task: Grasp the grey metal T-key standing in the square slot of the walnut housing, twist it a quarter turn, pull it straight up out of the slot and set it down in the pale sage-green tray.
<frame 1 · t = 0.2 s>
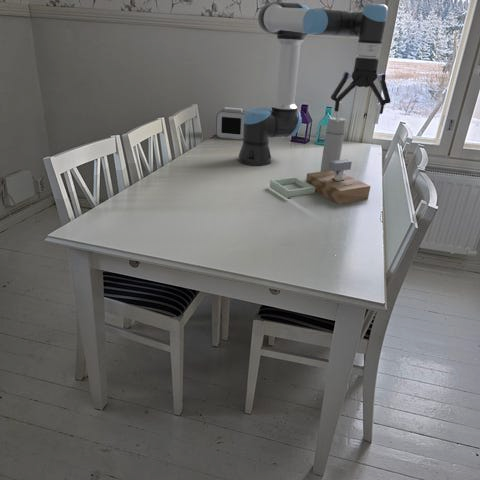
hand: (356, 122, 149), 27 cm above the table, fingers open, 13 cm apart
t key: (335, 192, 159), point 1 cm above the table, touching housing
housing: (335, 194, 160), on the table
tray: (291, 191, 161), on the table
grey monitor with handle: (232, 137, 234), on the table
water bottle: (327, 179, 176), on the table
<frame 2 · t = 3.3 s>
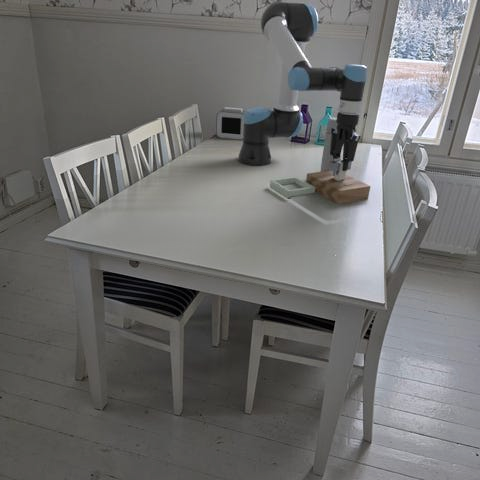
hand: (338, 176, 157), 7 cm above the table, fingers closed on t key, 3 cm apart
t key: (335, 192, 159), point 1 cm above the table, touching gripper, housing
everything else where it was.
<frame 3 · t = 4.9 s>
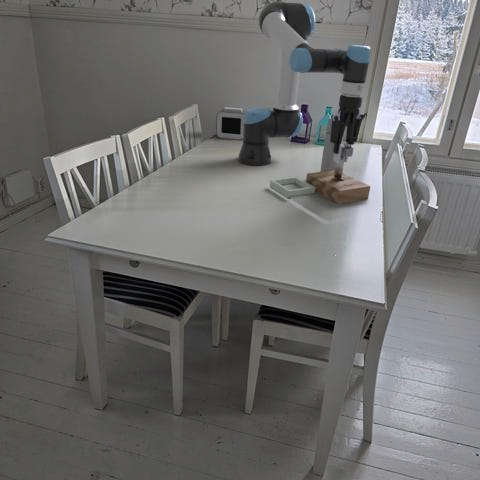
hand: (340, 161, 154), 13 cm above the table, fingers closed on t key, 3 cm apart
t key: (337, 177, 157), point 7 cm above the table, touching gripper
everything else where it was.
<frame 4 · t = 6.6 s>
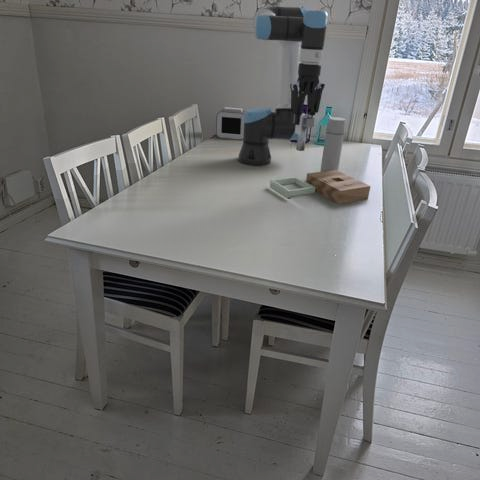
hand: (302, 133, 151), 22 cm above the table, fingers closed on t key, 3 cm apart
t key: (300, 149, 154), point 16 cm above the table, touching gripper
everything else where it was.
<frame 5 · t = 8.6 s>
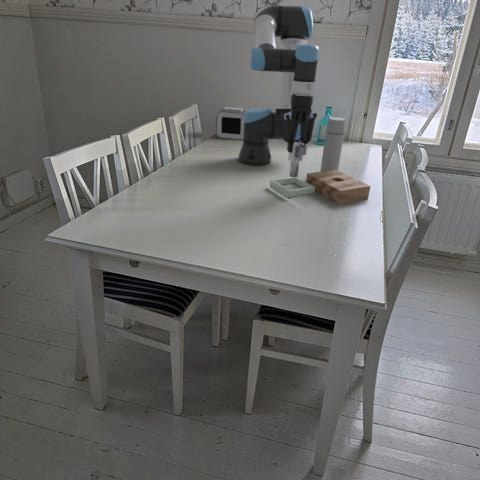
hand: (295, 160, 155), 12 cm above the table, fingers closed on t key, 3 cm apart
t key: (293, 175, 158), point 6 cm above the table, touching gripper
everything else where it was.
when the fingers open (8 cm above the table, at t = 10.1 s): t key drops 1 cm, resting on tray.
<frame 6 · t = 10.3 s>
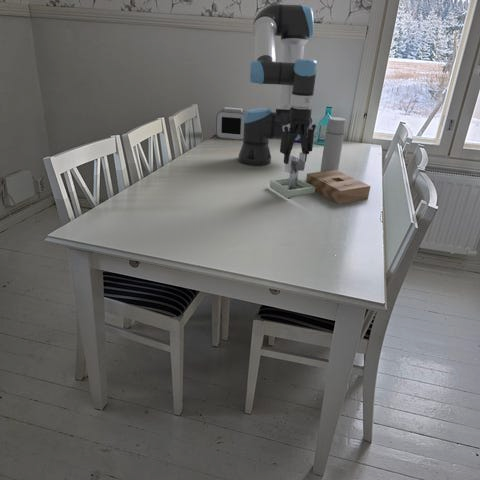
hand: (294, 170, 157), 8 cm above the table, fingers open, 5 cm apart
t key: (292, 189, 160), point 1 cm above the table, touching tray
everything else where it was.
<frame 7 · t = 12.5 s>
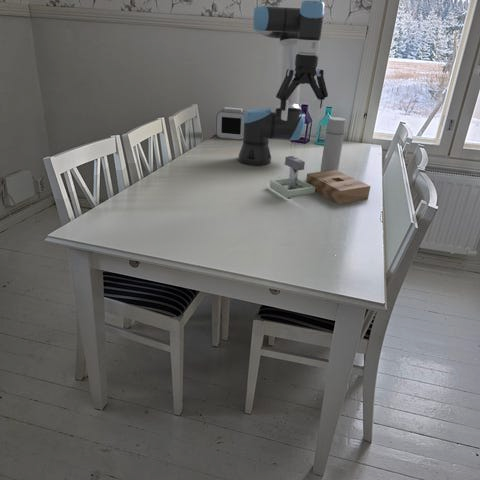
hand: (299, 118, 149), 27 cm above the table, fingers open, 13 cm apart
nothing on the table moved.
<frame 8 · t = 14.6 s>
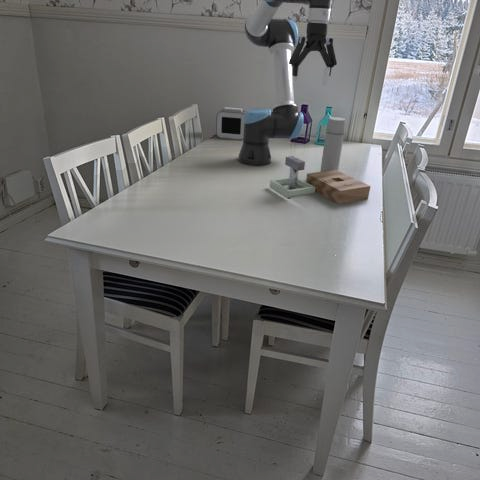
hand: (310, 85, 158), 37 cm above the table, fingers open, 13 cm apart
nothing on the table moved.
at the end: t key inside the target area on the tray (0.1 cm from its centre), point 0.6 cm above the tray's base; t key touching tray; the gripper is holding nothing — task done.
